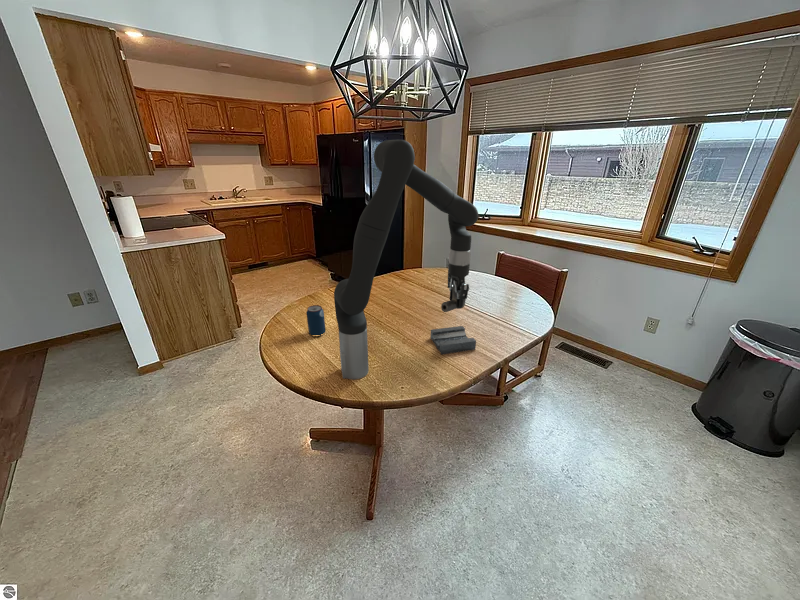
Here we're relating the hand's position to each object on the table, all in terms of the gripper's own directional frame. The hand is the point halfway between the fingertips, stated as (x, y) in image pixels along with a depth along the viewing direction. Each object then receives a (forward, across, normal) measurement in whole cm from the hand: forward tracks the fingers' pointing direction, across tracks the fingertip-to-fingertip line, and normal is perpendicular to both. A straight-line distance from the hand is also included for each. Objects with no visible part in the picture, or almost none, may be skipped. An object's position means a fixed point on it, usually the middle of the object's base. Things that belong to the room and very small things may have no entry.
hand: (455, 303), depth 122 cm
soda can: (+18, -21, -52) cm, 59 cm away
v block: (+18, 0, 0) cm, 18 cm away
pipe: (+2, +1, 0) cm, 2 cm away
